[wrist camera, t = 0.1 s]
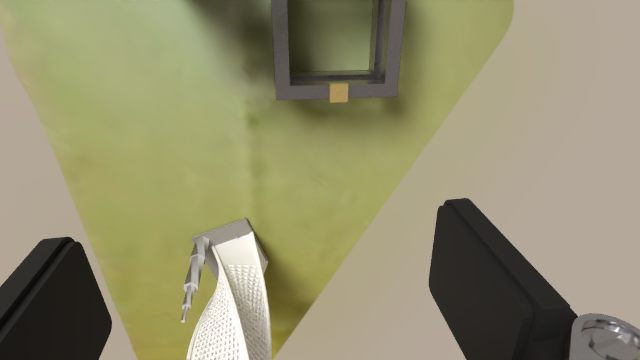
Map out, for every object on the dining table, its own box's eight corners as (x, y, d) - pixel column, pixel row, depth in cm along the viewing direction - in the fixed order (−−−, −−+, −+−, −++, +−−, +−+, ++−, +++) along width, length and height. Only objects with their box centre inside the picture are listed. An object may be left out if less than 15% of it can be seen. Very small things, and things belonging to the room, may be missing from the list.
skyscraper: (257, 213, 46) (248, 486, 21) (281, 262, 49) (298, 541, 25) (192, 236, 46) (107, 532, 21) (221, 283, 50) (178, 579, 25)
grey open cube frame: (269, -40, 34) (269, -44, 28) (388, -38, 35) (412, -42, 29) (275, 86, 39) (276, 104, 33) (379, 83, 40) (398, 100, 34)
